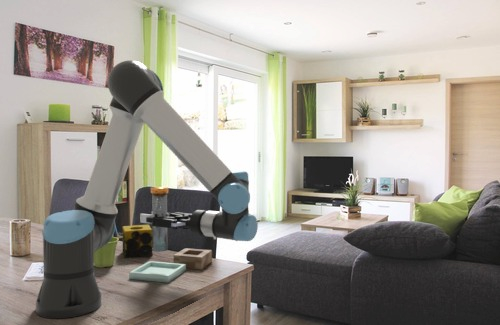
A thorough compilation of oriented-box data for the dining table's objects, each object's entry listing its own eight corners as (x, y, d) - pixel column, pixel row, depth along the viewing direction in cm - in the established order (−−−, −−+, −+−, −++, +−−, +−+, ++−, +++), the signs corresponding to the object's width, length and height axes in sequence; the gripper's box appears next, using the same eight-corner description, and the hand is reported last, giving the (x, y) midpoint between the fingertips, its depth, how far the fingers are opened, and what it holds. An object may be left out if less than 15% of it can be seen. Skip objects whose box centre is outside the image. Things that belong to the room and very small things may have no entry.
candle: (149, 249, 167) (149, 224, 167) (153, 256, 158) (153, 229, 158) (122, 251, 164) (122, 225, 163) (124, 258, 154) (124, 230, 154)
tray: (168, 282, 128) (168, 275, 128) (129, 278, 131) (129, 272, 131) (185, 270, 141) (185, 264, 140) (149, 267, 144) (149, 261, 144)
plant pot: (109, 270, 140) (109, 243, 139) (83, 268, 142) (83, 242, 141) (123, 262, 149) (123, 237, 148) (98, 260, 151) (98, 236, 150)
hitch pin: (164, 252, 132) (163, 189, 131) (148, 251, 134) (147, 188, 133) (171, 248, 137) (171, 187, 137) (156, 247, 139) (155, 186, 138)
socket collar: (201, 269, 142) (201, 257, 142) (173, 266, 144) (173, 255, 144) (211, 261, 152) (211, 250, 151) (185, 259, 154) (185, 248, 154)
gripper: (188, 242, 119) (126, 233, 130) (223, 231, 134) (165, 224, 146) (188, 215, 119) (126, 208, 130) (223, 207, 134) (164, 201, 145)
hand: (146, 216), depth 138 cm, fingers closed on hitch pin, 4 cm apart
